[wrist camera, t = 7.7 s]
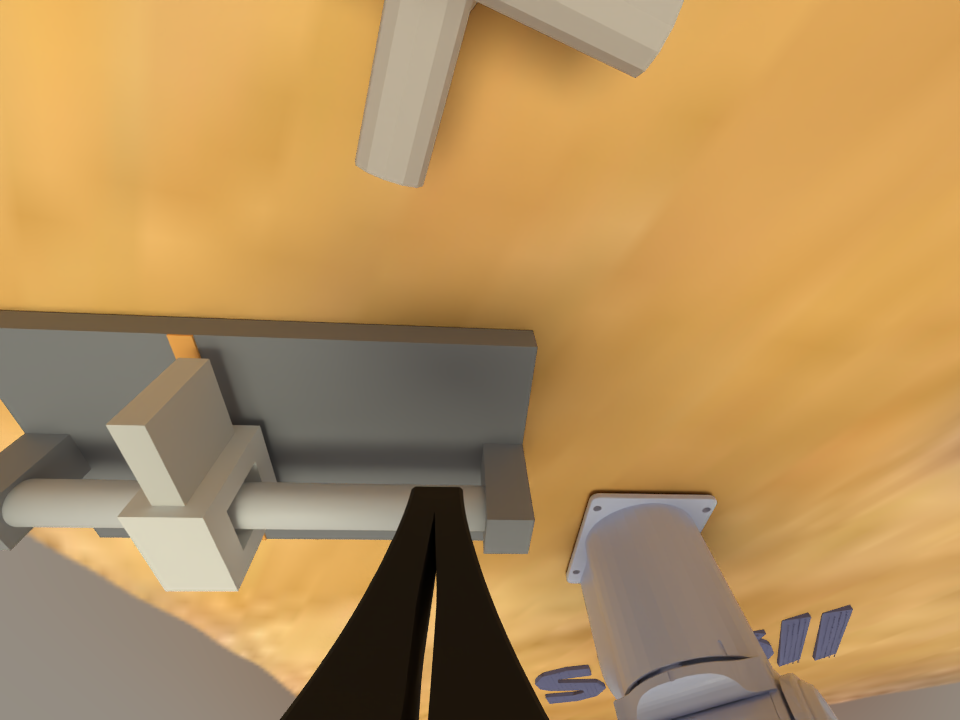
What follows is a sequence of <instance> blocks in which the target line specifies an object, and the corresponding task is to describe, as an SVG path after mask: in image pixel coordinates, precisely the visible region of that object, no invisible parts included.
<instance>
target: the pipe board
mask: <svg viewBox="0 0 960 720" xmlns="http://www.w3.org/2000/svg"><path fill="white" fill-rule="evenodd" d="M536 354H537V343H536V340H535V336H534V333H533V331H532V330H505V329H479V328H452V327H426V326H399V325H373V324H346V323H320V322H293V321H267V320H240V319H214V318H187V317H161V316H134V315H108V314H81V313H55V312H28V311H2V310H0V399H1V400H2V402H3V403H4V405H5V406H6V407H7V409H8V410H9V411H10V413H11V414H12V416H13V417H14V418H15V420H16V421H17V423H18V424H19V425H20V427H21V428H22V430H23V431H24V432H25V434H24V435H22V436H21V437H20V438H18V439H17V440H16V441H15V442H13V443H12V444H11V445H9V446H8V447H7V448H6V449H4V450H3V451H2V452H0V550H9V551H10V550H12V549H13V548H14V547H15V545H17V544H18V543H19V541H21V539H22V538H23V537H24V536H25V535H26V534H27V533H28V532H29V531H30V530H31V529H32V528H33V527H70V528H94V529H95V531H96V532H97V534H98V535H99V536H100V537H122V538H130V536H129V535H128V533H127V532H126V530H125V529H124V527H123V526H122V524H121V523H120V521H119V520H118V518H117V516H118V515H119V514H120V513H121V511H122V510H123V509H124V508H125V507H126V505H127V504H128V503H129V502H130V500H131V499H132V498H133V497H134V496H135V494H136V493H137V492H138V491H139V489H140V488H141V486H140V484H139V483H138V481H137V479H136V477H135V476H134V474H133V472H132V470H131V469H130V467H129V465H128V463H127V462H126V460H125V458H124V456H123V455H122V453H121V451H120V449H119V448H118V446H117V444H116V442H115V441H114V439H113V437H112V435H111V434H110V432H109V430H108V428H107V427H106V424H107V423H108V422H109V421H110V420H111V419H112V418H113V417H115V416H116V415H117V414H118V413H119V412H120V411H121V410H122V409H123V408H124V407H125V406H126V405H128V404H129V403H130V402H131V401H132V400H133V399H134V398H135V397H136V396H137V395H138V394H139V393H141V392H142V391H143V390H144V389H145V388H146V387H147V386H148V385H149V384H150V383H151V382H152V381H154V380H155V379H156V378H157V377H158V376H159V375H160V374H161V373H162V372H163V371H164V370H166V369H167V368H168V367H169V366H170V365H171V364H172V363H173V362H174V361H175V360H176V359H177V358H200V359H209V360H210V363H211V366H212V368H213V371H214V374H215V377H216V380H217V383H218V386H219V388H220V391H221V394H222V397H223V400H224V403H225V405H226V408H227V411H228V414H229V417H230V420H231V423H232V425H255V426H260V428H261V431H262V434H263V438H264V441H265V444H266V447H267V451H268V454H269V457H270V461H271V464H272V467H273V471H274V474H275V477H276V480H277V482H243V484H242V485H241V487H240V489H239V491H238V492H237V494H236V496H235V498H234V499H233V501H232V503H231V505H230V506H229V508H228V510H227V513H228V516H229V518H230V521H231V523H232V525H233V528H234V529H266V531H265V533H264V535H263V538H262V540H266V539H368V540H392V539H393V537H394V535H395V533H396V531H397V528H398V526H399V523H400V521H401V519H402V516H403V514H404V511H405V508H406V505H407V502H408V500H409V496H410V493H411V489H412V488H414V487H415V486H423V487H460V488H462V489H463V498H464V506H465V512H466V517H467V522H468V526H469V530H470V534H471V538H472V540H483V548H484V554H528V551H529V546H530V541H531V536H532V531H533V527H534V522H535V519H534V512H533V506H532V500H531V494H530V488H529V482H528V476H527V470H526V463H525V457H524V451H523V445H522V443H523V437H524V430H525V424H526V418H527V411H528V405H529V398H530V392H531V386H532V379H533V373H534V367H535V360H536Z"/></svg>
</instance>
